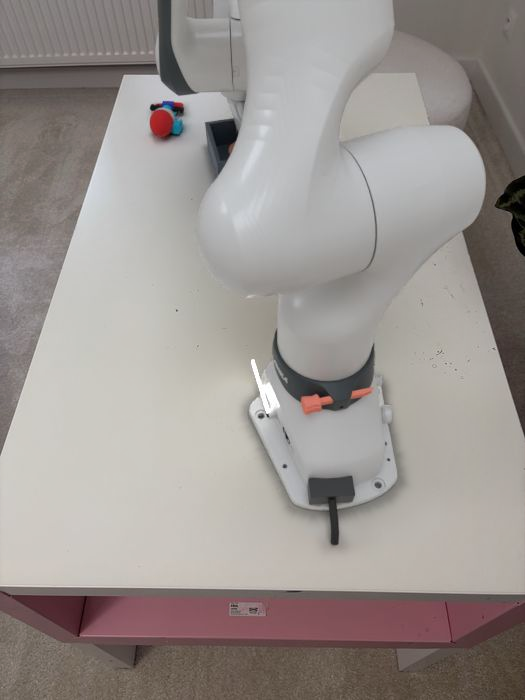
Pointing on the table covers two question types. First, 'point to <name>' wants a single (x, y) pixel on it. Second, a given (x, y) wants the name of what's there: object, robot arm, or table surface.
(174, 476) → the table surface
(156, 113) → the toy figure
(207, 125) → the tub
